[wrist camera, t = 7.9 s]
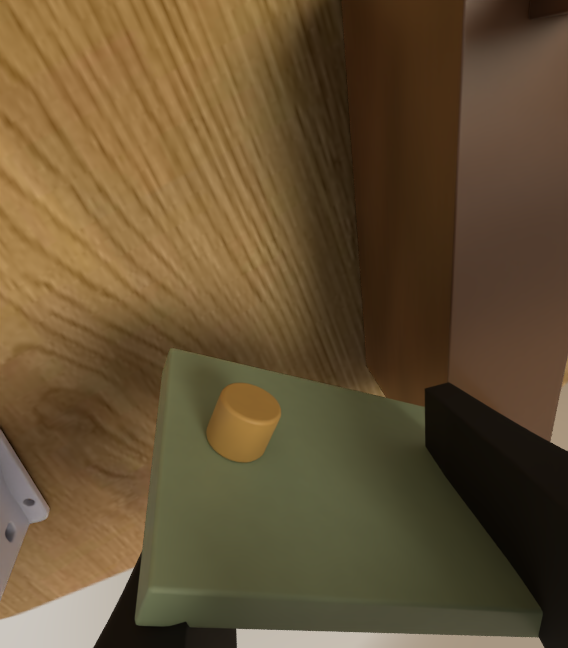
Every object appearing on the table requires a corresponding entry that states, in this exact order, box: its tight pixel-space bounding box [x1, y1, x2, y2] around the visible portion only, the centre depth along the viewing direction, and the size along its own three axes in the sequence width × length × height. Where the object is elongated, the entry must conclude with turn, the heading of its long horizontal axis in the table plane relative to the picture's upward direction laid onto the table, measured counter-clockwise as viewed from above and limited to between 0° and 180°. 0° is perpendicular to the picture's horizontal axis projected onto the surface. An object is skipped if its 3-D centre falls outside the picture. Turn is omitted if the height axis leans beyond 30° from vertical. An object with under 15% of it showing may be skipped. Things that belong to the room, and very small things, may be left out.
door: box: [135, 348, 543, 637], centre depth 10 cm, size 12×2×6 cm, turn 68°
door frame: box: [341, 0, 568, 442], centre depth 12 cm, size 16×4×15 cm, turn 9°
